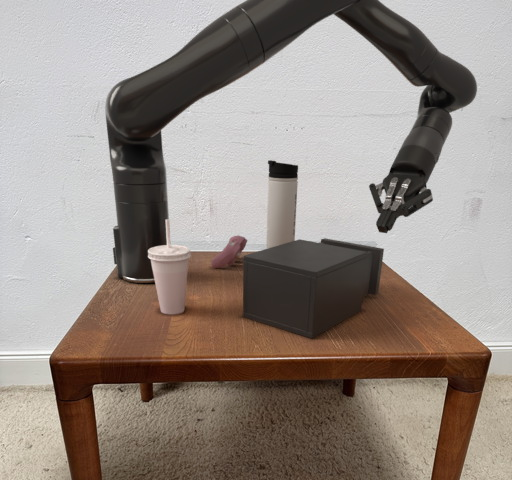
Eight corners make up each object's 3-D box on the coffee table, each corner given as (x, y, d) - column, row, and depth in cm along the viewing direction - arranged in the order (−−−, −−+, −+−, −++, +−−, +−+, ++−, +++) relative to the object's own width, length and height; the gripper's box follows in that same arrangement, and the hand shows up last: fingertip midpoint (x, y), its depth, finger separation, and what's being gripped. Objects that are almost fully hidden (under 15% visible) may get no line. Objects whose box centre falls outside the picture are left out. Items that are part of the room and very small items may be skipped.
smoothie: (191, 302, 80) (187, 216, 75) (195, 316, 75) (191, 224, 69) (151, 304, 79) (144, 217, 73) (152, 318, 73) (145, 225, 68)
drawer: (332, 275, 93) (336, 234, 90) (388, 287, 86) (394, 244, 83) (278, 298, 80) (279, 251, 77) (338, 315, 74) (343, 265, 71)
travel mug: (259, 252, 111) (261, 159, 103) (284, 249, 114) (288, 158, 106) (274, 259, 106) (277, 161, 98) (299, 256, 109) (304, 161, 101)
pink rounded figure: (228, 277, 99) (243, 247, 95) (208, 266, 98) (223, 236, 95) (239, 264, 107) (253, 237, 104) (221, 254, 107) (235, 226, 104)
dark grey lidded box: (296, 293, 85) (299, 239, 81) (361, 310, 78) (367, 251, 74) (242, 316, 75) (243, 255, 71) (312, 338, 68) (316, 272, 64)
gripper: (381, 141, 96) (344, 213, 92) (449, 144, 88) (412, 222, 84) (389, 168, 102) (355, 236, 98) (453, 173, 94) (419, 247, 90)
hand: (381, 230), depth 91 cm, fingers closed
